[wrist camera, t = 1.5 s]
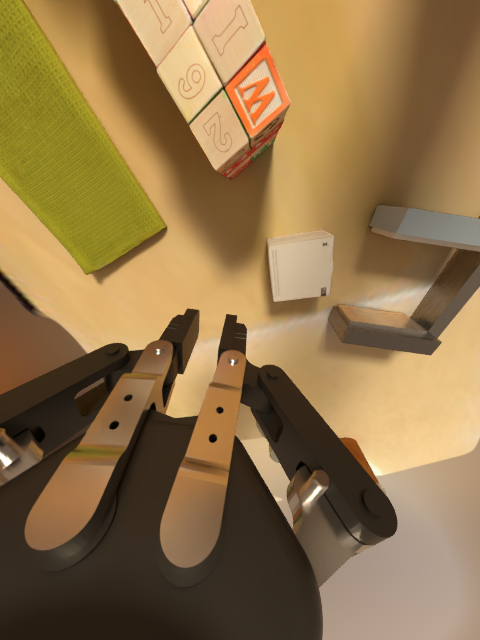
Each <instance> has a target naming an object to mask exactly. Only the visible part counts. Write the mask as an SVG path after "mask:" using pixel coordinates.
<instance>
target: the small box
mask: <svg viewBox="0 0 480 640" xmlns="http://www.w3.org/2000/svg"><path fill="white" fill-rule="evenodd" d="M267 248H268V260H269V270H270V280H271V289H272V296H273V301H274V302H278V301H287V300H295V299H303V298H311V297H320V296H329V295H330V290H331V277H332V272H333V269H334V265H333V249H334V235H332V234H330V233H328V232H326V231H325V230H322V229H321V230H317V231H310V232H304V233H298V234H291V235H284V236H278V237H272V238H268V239H267Z"/></svg>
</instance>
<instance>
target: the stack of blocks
mask: <svg viewBox="0 0 480 640" xmlns="http://www.w3.org/2000/svg"><path fill="white" fill-rule="evenodd" d="M114 1H115V3H116V4H117V6H118V7H119V8H120V10H121V11H122V12H123V14H124V15H125V17H126V18H127V20H128V22H129V23H130V25H131V27H132V28H133V30H134V32H135V33H136V35H137V36H138V38H139V40H140V41H141V43H142V45H143V46H144V48H145V50H146V51H147V53H148V55H149V56H150V58H151V59H152V61H153V63H154V64H155V66H156V69H157V73H158V75H159V77H160V79H161V80H162V82H163V84H164V85H165V87H166V89H167V90H168V92H169V93H170V95H171V97H172V98H173V100H174V102H175V103H176V105H177V107H178V108H179V110H180V112H181V113H182V115H183V117H184V118H185V120H186V122H187V123H188V124H189V126H190V129H191V131H192V133H193V134H194V136H195V138H196V139H197V141H198V143H199V145H200V146H201V148H202V150H203V151H204V153H205V155H206V156H207V158H208V160H209V161H210V163H211V165H212V166H213V168H214V169H215V171H217V172H219V173H221V175H222V176H224V177H227V178H229V179H232V178H233V177H234V176H236V175H237V174H238V173H239V172H240V171H242V170H243V169H244V168H245V167H246V166H247V165H249V164H250V163H251V161H253V160H254V159H255V158H256V157H257V156H259V155H260V154H261V153H262V152H263V151H265V150H266V149H267V148H268V147H269V146H271V145H272V144H273V143H274V141H275V138H276V135H277V133H278V131H279V129H280V128H281V126H282V124H283V121H284V117H285V115H286V112H287V110H288V108H289V106H290V103H291V102H290V99H289V97H288V94H287V92H286V89H285V87H284V85H283V82H282V80H281V77H280V75H279V72H278V70H277V67H276V65H275V63H274V60H273V58H272V55H271V53H270V50H269V48H268V46H267V45H266V39H265V34H264V32H263V29H262V27H261V25H260V22H259V20H258V17H257V15H256V13H255V11H254V8H253V6H252V3H251V1H250V0H114Z"/></svg>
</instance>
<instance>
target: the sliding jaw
mask: <svg viewBox="0 0 480 640" xmlns="http://www.w3.org/2000/svg"><path fill="white" fill-rule="evenodd" d="M369 226H372V229H371V231H372V232H375V233H378V234H381V235H384V236H387V237H390V238H394V239H400V240H407V241H413V242H420V243H426V244H433V245H440V246H446V247H453V248H459V249H466V250H472V251H479V252H480V219H478V218H472V217H465V216H459V215H453V214H446V213H440V212H433V211H427V210H421V209H414V208H407V207H396V206H385V205H378V206H377V208H376V211H375V213H374V215H373V217H372V220H371V222H370V224H369Z"/></svg>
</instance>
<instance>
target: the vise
mask: <svg viewBox="0 0 480 640" xmlns="http://www.w3.org/2000/svg"><path fill="white" fill-rule="evenodd" d="M478 219H480V217H479V218H478ZM479 287H480V252H479V251H472V250H466V249H459V248H458V249H457V250H456V252H455V253H454V255H453V256H452V258H451V259H450V261H449V262H448V263H447V265H446V266H445V268H444V269H443V271H442V272H441V274H440V275H439V277H438V278H437V280H436V281H435V283H434V284H433V285H432V287H431V288H430V290H429V291H428V293H427V294H426V296H425V297H424V299H423V300H422V302H421V303H420V305H419V306H418V307H417V309H416V310H415V312H414V313H413V315H412V316H411V317H408V316H407V315H406V314H402V313H395V312H388V311H381V310H375V309H368V308H361V307H354V306H347V305H340V304H338V306H337V307H336V306H333V308H332V310H331V313H330V315H329V317H328V319H329V321H330V323H331V324H332V326H333V328H334V329H335V331H336V333H337V335H338V336H339V338H340V340H341V341H342V343H348V344H355V345H362V346H369V347H376V348H383V349H390V350H397V351H404V352H411V353H418V354H425V355H432V353H433V352H434V351H435V350H436V349H437V348H438V346H439V345H440V344H441V343H442V342H441V341H440V340H438V339H437V338H438V337H439V336H440V334H441V333H442V332H443V331H444V329H445V328H446V327H447V326H448V325H449V323H450V322H451V321H452V320H453V318H454V317H455V316H456V315H457V314H458V312H459V311H460V310H461V309H462V307H463V306H464V305H465V304H466V302H467V301H468V300H469V299H470V298H471V296H472V295H473V294H474V293H475V291H476V290H477V289H478V288H479Z"/></svg>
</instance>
